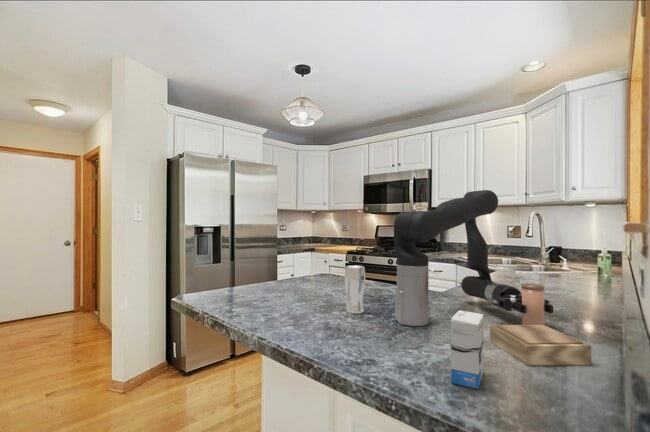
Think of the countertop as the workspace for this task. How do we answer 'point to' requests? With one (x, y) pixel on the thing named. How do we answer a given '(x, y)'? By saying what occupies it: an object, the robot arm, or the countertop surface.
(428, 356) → the countertop surface
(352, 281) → the beer glass
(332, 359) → the countertop surface
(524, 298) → the canister
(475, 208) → the robot arm
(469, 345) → the ink box
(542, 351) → the base block
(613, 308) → the countertop surface
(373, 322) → the countertop surface
